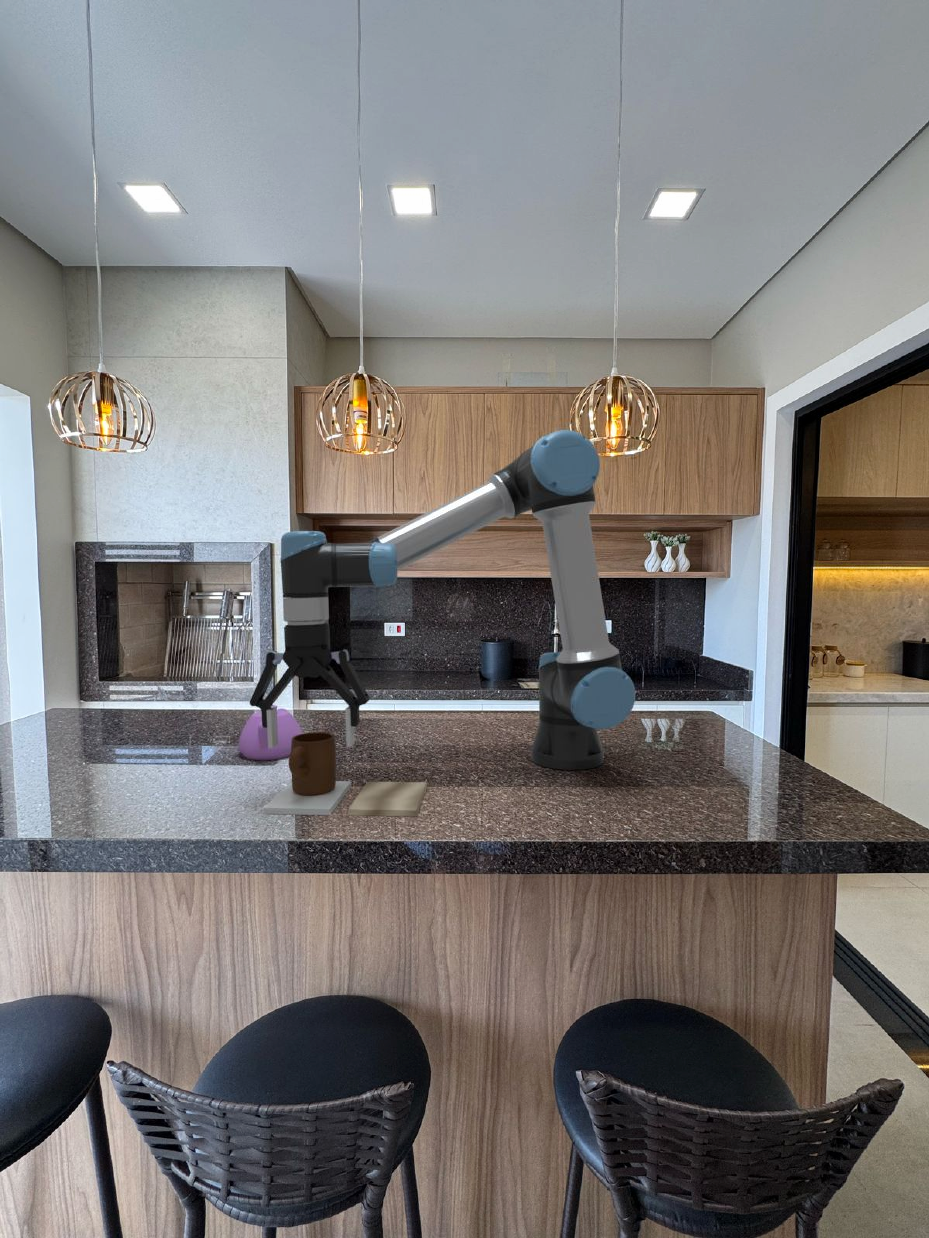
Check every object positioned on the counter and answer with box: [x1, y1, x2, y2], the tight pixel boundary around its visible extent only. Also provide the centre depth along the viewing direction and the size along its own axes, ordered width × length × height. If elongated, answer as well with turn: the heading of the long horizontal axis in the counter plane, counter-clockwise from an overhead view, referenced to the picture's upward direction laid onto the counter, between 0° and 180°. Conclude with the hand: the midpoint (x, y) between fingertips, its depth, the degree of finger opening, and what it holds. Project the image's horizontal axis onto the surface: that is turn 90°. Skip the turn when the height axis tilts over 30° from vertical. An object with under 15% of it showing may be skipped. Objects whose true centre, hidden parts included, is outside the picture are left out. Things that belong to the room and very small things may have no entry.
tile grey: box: [262, 780, 352, 816], centre depth 106 cm, size 11×14×1 cm
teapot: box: [238, 704, 303, 761], centre depth 136 cm, size 14×20×11 cm
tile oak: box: [347, 781, 428, 817], centre depth 105 cm, size 11×14×1 cm
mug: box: [288, 731, 337, 796], centre depth 105 cm, size 12×8×9 cm, turn 169°
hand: (311, 745), depth 105 cm, fingers open, 13 cm apart
